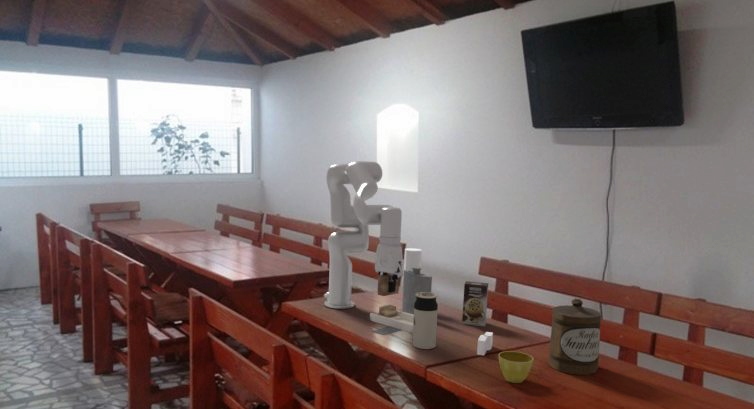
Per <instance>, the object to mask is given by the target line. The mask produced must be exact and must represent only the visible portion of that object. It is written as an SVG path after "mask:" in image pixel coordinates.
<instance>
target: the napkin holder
mask: <svg viewBox="0 0 754 409" xmlns="http://www.w3.org/2000/svg"><path fill="white" fill-rule="evenodd" d="M493 340H494V332H492V331H490V332H489V331H485V333H483V334H480V336H479V337H478V340H477V350H476V355H477V356H485V355H486V353H487V351H491V350H492V348H493Z"/></svg>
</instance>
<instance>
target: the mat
mask: <svg viewBox="0 0 754 409" xmlns="http://www.w3.org/2000/svg"><path fill="white" fill-rule="evenodd" d="M400 331H402V330H401V329H397V328H394V327H391V326H385V327H381V328H378V329H377V328H376V329H373V330H371V333H375V334H378V335H380V336H385V335H389V334H393V333H397V332H400Z"/></svg>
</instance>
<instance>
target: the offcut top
mask: <svg viewBox="0 0 754 409" xmlns="http://www.w3.org/2000/svg"><path fill="white" fill-rule="evenodd" d="M378 307H379V308H378V313H380V314H384V315H388V314H392V313H396V310H397V306H396V305H393V304H387V305H386V304H385V305H383V306H378Z"/></svg>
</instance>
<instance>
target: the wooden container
mask: <svg viewBox="0 0 754 409" xmlns="http://www.w3.org/2000/svg"><path fill="white" fill-rule="evenodd" d="M583 302H584V301H583V300H581V298H573V299H572V300H571V305H567V304H566V305H557V306H555V307H553V308H552V314H551V316H552V321H551V329H550V330H551V332H550V342H549V353H548V354H549V355H548V356H549V358H548V364H549V366H550V368H553V369H554V370H556V371H558V372H562V373H565V374H570V375H578V376H580V375H582V376H583V375H585V376H586V375H592V374H595V373H597V371H598V368H599V355H600V354H599V353H600V339H601V320H602V314H601V312H600V311H598V310H596V309H594V308H591V307H590V308H589V307H586V306H583V304H584V303H583Z"/></svg>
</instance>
